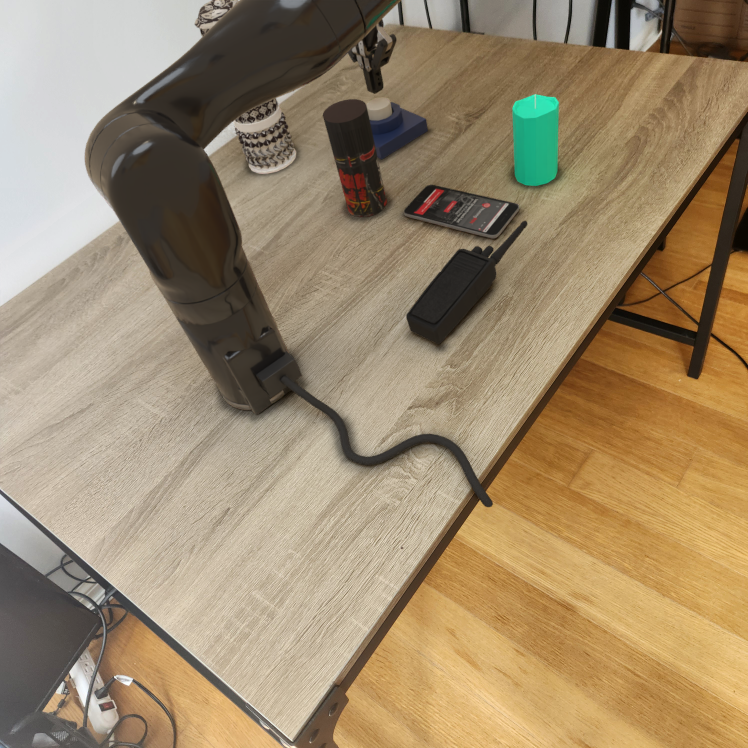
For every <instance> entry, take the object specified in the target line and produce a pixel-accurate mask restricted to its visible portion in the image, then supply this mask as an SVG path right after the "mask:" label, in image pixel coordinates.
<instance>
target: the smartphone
mask: <svg viewBox="0 0 748 748" xmlns="http://www.w3.org/2000/svg"><path fill="white" fill-rule="evenodd" d="M519 211H520V204H518V203H517V202H512V201H509V200H503V199H499V198H493V197H490V196H485V195H481V194H476V193H471V192H466V191H463V190H458V189H454V188H449V187H444V186H440V185H436V184H428V185H426V186H425V187H424V188H423V189H422V190H421V191H420V192H419V193H418V194H417V196H415V197H414V198H413V200H412V201H411V202H410V203H409V204H408V205H407V206H406V207H405V208H404V210H403V215H404V216H405V217H407V218H410V219H414V220H418V221H422V222H426V223H430V224H434V225H438V226H443V227H446V228H450V229H453V230H457V231H460V232H463V233H464V232H465V233H469V234H472V235H477V236H480V237H484V238H488V239H497V238H499V236H500V235H501V234H502V233H503V232H504V230H505V229H506V227H507V226H508V225H509V224H510V222H511V221H512V220H513V219H514V217H516V215H517V214H518V212H519Z"/></svg>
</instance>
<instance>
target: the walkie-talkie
mask: <svg viewBox="0 0 748 748" xmlns="http://www.w3.org/2000/svg"><path fill="white" fill-rule="evenodd" d="M527 226H528V221H527V220H522V221H521V222H520V224H519V225H518V226H517V227H516V228H515V229H514V230H513V231H512V233H511V234H510V235H509V236H508V237H507V238H506V239H505V240H504V242H502V244H501V245H500V246H499V247H498V248H497V249H495V248H494V247H493V246H491V245H487V246H486V247H484V249H483V248H482V247H481V246H479V245H475V246H474V247H472V249H471V250H469V249H467V248H458V249H457V251H455V252H454V254H453V255H452V256H451V258H450V259H449V260H448V261H447V262H446V264H444V266H443V267H442V268H441V270H440V271H439V272H438V273H437V274H436V276H435V277H434V278H433V279H431V281H430V283H429V284H428V285H427V286H426V288H425V289H424V290H423V292H422V293H421V294H420V296H419V297H418V299H417V300H416V301H415V302H414V304H413V305H412V307H410V309H409V310H408V312H407V313H406V315H405V316H406V321H407V324H408V328H409V331H410V332H411V333H413V334H415V335H417V336H420V337H422V338H424V339H426V340H428V341H430V342H431V343H434V344H435V345H440V344H441V343H443V342H444V340H445V339H446V338H447V337H448V336H449V335H450V333H451V332H453V330H454V329H455V328H456V327H457V326H458V325H459V323H460V322H461V321H462V320H463V319H464V318H465V317H466V316H467V314H468V313H469V312H470V310H471V309H472V308H473V307H474V306H475V305H476V304H477V303H478V302H479V301H480V300H481V299H482V297H483V296H484V295H485V294H486V293H487V291H488V290H489V289H490V288H491V286H492V285H493V283H494V282H495V280H496V279H497V274H498V272H497V269H496V266H497V265H498V264H499V263H500V261H501V260H502V259H503V257H504V256H505V254H506V253H507V252H508V250H509V249H510V247H511V246H512V245H513V244H514V242H516V240H517V239H518V237H519V236H520V235H522V233H523V231H524V230H525V229H526V228H527ZM494 250H495V251H494Z"/></svg>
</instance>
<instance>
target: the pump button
mask: <svg viewBox="0 0 748 748" xmlns="http://www.w3.org/2000/svg"><path fill="white" fill-rule="evenodd" d="M390 102H391V99H390V98H388V97H385V96H382V97H381V96H378V97H375V98H372V99H371V100H369V101H368V102H367V103H366V106H367V110H368V115H369V119H370V120H377V121H379V120H382V119H386V118H388V117H389V116H391V115H392V108H391V103H390Z"/></svg>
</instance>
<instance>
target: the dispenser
mask: <svg viewBox="0 0 748 748" xmlns="http://www.w3.org/2000/svg"><path fill="white" fill-rule="evenodd" d="M390 103H391V108H392V115H391V116H389V117H388V118H386V119H382V120H379V121H377V120H370V124H371V129H372V133H373V138H374V143H375V148H376V152H377V157H378V160H383V159H385V158H387V157H388V156H391V155H392V154H394V153H395V152H396V151H399V150H400V149H401V148H404V146H406V145H408V144H410V143H411V142H413V141H415V139H418V138H419V137H421V136H422V135H424V134H426V133H427V132H429V130H428V122H427V121H428V120H427V118H425V117H424V116H420V115H418V114H416V113H414V112H412V111H409V110H407V109H405V108H402V107H401V105H400V104H398V103H396V102H393V101H390Z"/></svg>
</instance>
